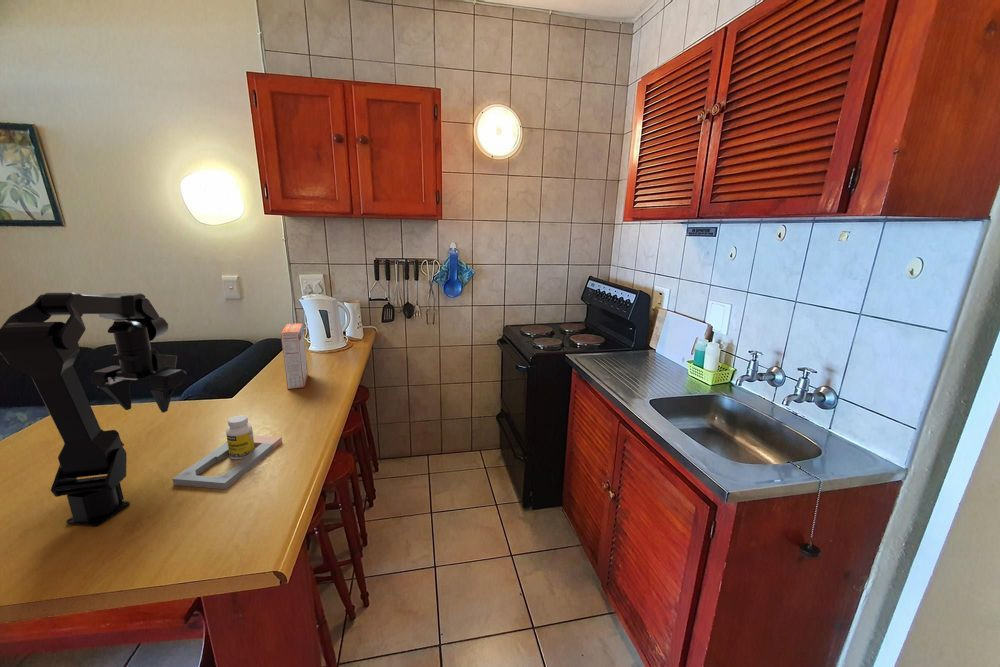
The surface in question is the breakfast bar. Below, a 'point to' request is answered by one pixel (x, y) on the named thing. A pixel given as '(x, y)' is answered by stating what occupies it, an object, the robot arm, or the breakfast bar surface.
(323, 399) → the breakfast bar surface
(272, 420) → the breakfast bar surface
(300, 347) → the cracker box
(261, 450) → the keyhole board
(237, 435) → the supplement bottle
